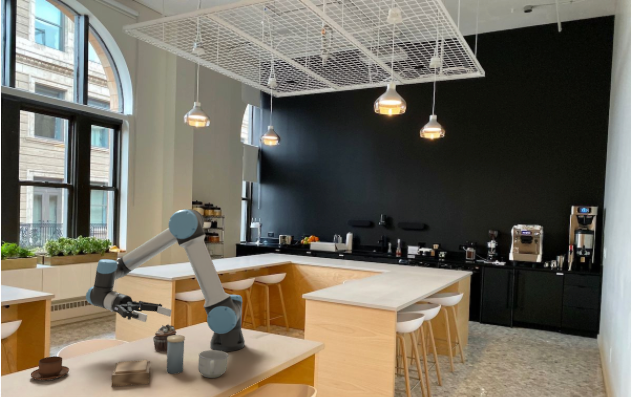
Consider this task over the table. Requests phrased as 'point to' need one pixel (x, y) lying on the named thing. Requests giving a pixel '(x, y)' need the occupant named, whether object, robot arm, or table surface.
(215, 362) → the teacup
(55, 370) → the cup and saucer
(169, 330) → the cupcake
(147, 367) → the pedestal
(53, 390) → the table surface
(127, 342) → the table surface
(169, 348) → the canister
